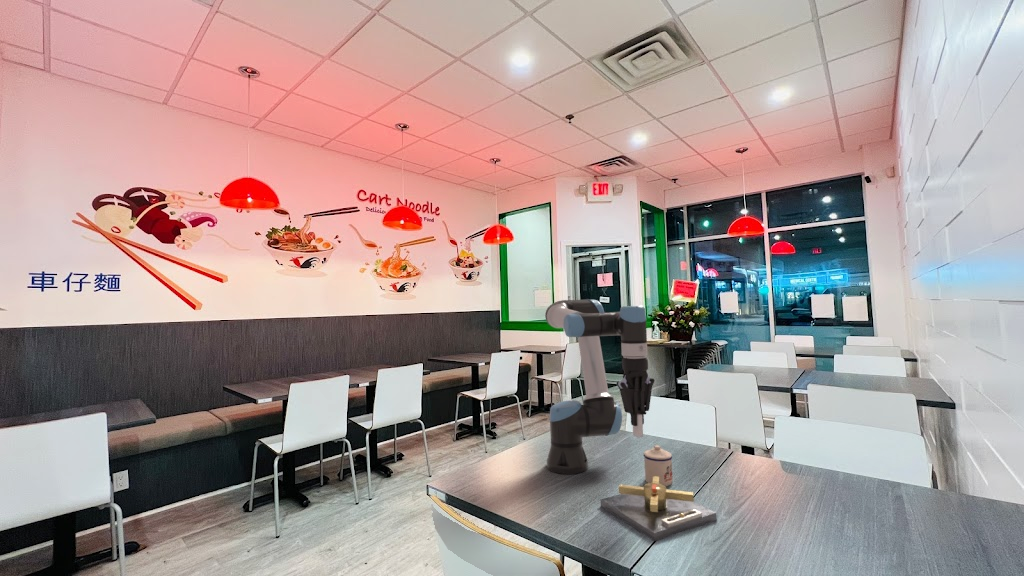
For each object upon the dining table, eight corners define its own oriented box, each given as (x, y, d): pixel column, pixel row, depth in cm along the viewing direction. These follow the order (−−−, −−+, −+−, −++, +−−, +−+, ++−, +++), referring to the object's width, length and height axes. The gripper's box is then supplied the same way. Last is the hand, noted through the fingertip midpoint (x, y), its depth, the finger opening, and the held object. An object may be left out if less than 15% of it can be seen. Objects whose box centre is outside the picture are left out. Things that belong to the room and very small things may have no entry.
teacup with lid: (670, 489, 138) (668, 452, 138) (641, 484, 143) (640, 448, 143) (677, 476, 148) (675, 441, 149) (650, 471, 153) (648, 438, 153)
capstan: (623, 487, 135) (622, 468, 136) (692, 494, 128) (691, 474, 129) (615, 516, 116) (614, 494, 117) (696, 527, 110) (694, 503, 110)
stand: (600, 506, 127) (600, 493, 128) (657, 490, 137) (656, 478, 137) (654, 541, 108) (654, 526, 108) (716, 520, 117) (715, 506, 117)
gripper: (625, 359, 124) (629, 443, 123) (660, 356, 130) (663, 435, 129) (609, 357, 131) (612, 436, 130) (642, 354, 137) (645, 429, 136)
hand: (638, 435), depth 130 cm, fingers closed
